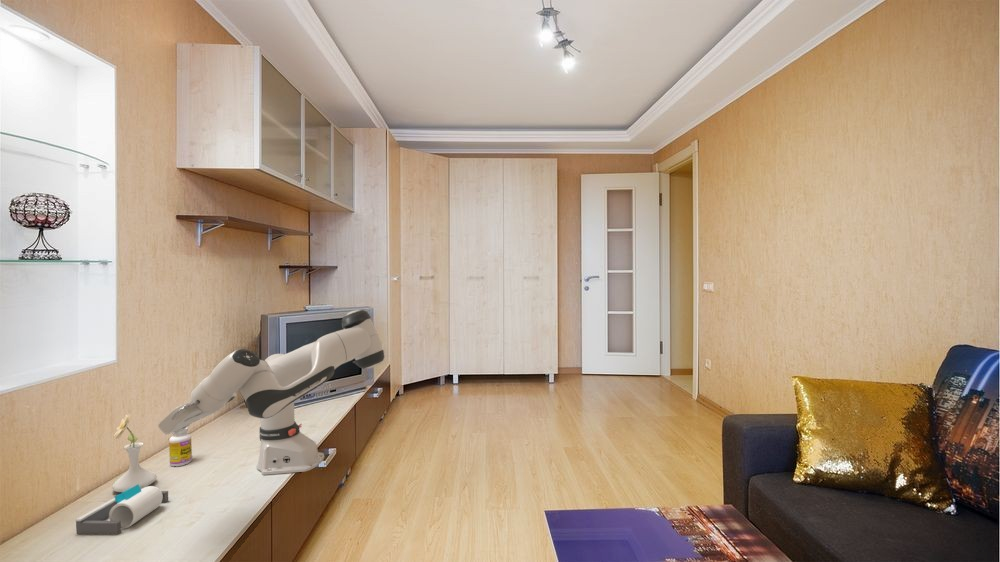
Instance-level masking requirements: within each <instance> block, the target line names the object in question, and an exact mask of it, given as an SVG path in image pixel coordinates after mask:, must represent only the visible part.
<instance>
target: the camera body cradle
mask: <svg viewBox="0 0 1000 562" xmlns="http://www.w3.org/2000/svg"><path fill="white" fill-rule="evenodd" d="M161 492H162V495H163V498H162V502H161V504H165V503H167V502H169V491H168V490H161ZM116 504H117V502H116V500H115V496H114V497H113V498H111V499H109V500H108V501H106V502H104V503H102V504H100V505H99V506H97V507H95V508H93V509H91V510H90V511H88V512H86V513H85V514H82V515H81V516H79V517H78V518H75V527H76V529H75V530H76V531H75V532H76V533H75V534H76V535H118V534H120V533H121V532H122V528H121V521H107V520H108V519H109V512H110V510H111V508H112V507H113V506H114V505H116Z"/></svg>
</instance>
